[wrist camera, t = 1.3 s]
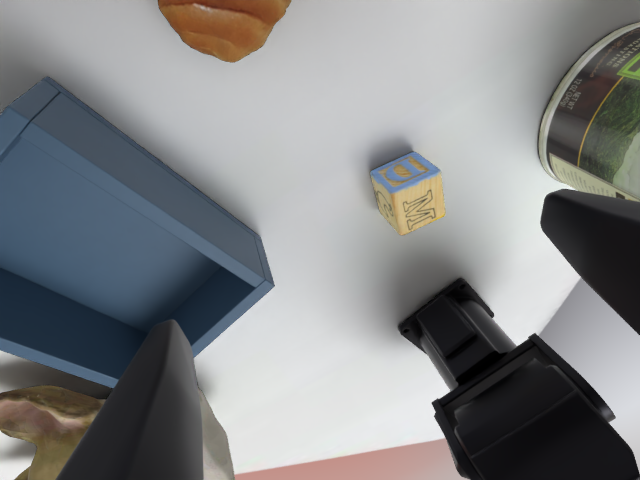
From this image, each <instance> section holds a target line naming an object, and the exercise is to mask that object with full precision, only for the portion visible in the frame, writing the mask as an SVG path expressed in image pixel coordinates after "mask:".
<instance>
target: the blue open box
mask: <svg viewBox="0 0 640 480" xmlns="http://www.w3.org/2000/svg"><path fill="white" fill-rule="evenodd" d="M274 286H275V285H274V281H273V278H272V274H271V271H270V268H269V264H268V261H267V257H266V254H265V250H264V247H263V244H262V240H261V237H260V236H258V235H257V234H256V233H254V232H253V231H252V230H251V229H249V228H248V227H247V226H245V225H244V224H243V223H241V222H240V221H239V220H237V219H236V218H235V217H233V216H232V215H231V214H229V213H228V212H227V211H225V210H224V209H223V208H221V207H220V206H219V205H217V204H216V203H215V202H213V201H212V200H211V199H209V198H208V197H207V196H206V195H204V194H203V193H202V192H200V191H199V190H198V189H196V188H195V187H194V186H192V185H191V184H190V183H188V182H187V181H186V180H184V179H183V178H182V177H180V176H179V175H178V174H176V173H175V172H174V171H172V170H171V169H170V168H168V167H167V166H166V165H165V164H163V163H162V162H161V161H159V160H158V159H157V158H155V157H154V156H153V155H151V154H150V153H149V152H147V151H146V150H145V149H143V148H142V147H141V146H139V145H138V144H137V143H135V142H134V141H133V140H131V139H130V138H129V137H127V136H126V135H125V134H124V133H122V132H121V131H120V130H118V129H117V128H116V127H114V126H113V125H112V124H110V123H109V122H108V121H106V120H105V119H104V118H102V117H101V116H100V115H98V114H97V113H96V112H94V111H93V110H92V109H90V108H89V107H88V106H86V105H85V104H84V103H82V102H81V101H80V100H79V99H77V98H76V97H75V96H73V95H72V94H71V93H69V92H68V91H67V90H65V89H64V88H63V87H61V86H60V85H59V84H57V83H56V82H55V81H53V80H52V79H51V78H49V77H48V76H47V77H45V78H44V79H43V80H41V81H40V82H39V83H37V84H36V85H35V86H33V87H32V88H31V89H29V90H28V91H27V92H26V93H24V94H23V95H22V96H20V97H19V98H18V99H16V100H15V101H14V102H12V103H11V104H10V105H8V106H7V107H6V108H5V110H4V111H3V112H2V113H1V114H0V350H1V351H4V352H7V353H10V354H13V355H16V356H19V357H22V358H25V359H28V360H31V361H34V362H37V363H40V364H43V365H46V366H49V367H52V368H54V369H57V370H60V371H63V372H66V373H69V374H72V375H75V376H78V377H81V378H84V379H87V380H90V381H93V382H96V383H99V384H102V385H105V386H108V387H111V388H114V387H115V385H116V384H117V382H118V381H119V379H120V377H121V376H122V374H123V373H124V371H125V370H126V368H127V367H128V365H129V363H130V362H131V360H132V359H133V357H134V356H135V354H136V353H137V351H138V349H139V348H140V346H141V345H142V343H143V342H144V340H145V338H146V337H147V335H148V334H149V332H150V331H151V329H152V328H153V326H154V325H156V324H158V323H161V322H164V321H167V320H170V319H173V320H175V321H176V322H177V323H178V324H179V326H180V328H181V329H182V331H183V333H184V335H185V336H186V338H187V340H188V341H189V343H190V345H191V348H192V353H193V358H194V357H195V356H196V355H198V354H199V353H200V352H201V351H202V350H203V349H204V348H205V347H207V346H208V345H209V344H210V343H211V342H212V341H213V340H214V339H216V338H217V337H218V336H219V335H220V334H221V333H222V332H224V331H225V330H226V329H227V328H228V327H229V326H230V325H231V324H233V323H234V322H235V321H236V320H237V319H238V318H239V317H240V316H242V315H243V314H244V313H245V312H246V311H247V310H248V309H250V308H251V307H252V306H253V305H254V304H255V303H256V302H257V301H259V300H260V299H261V298H262V297H263V296H264V295H265V294H266V293H268V292H269V291H270V290H271V289H272V288H273V287H274Z"/></svg>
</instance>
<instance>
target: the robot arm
mask: <svg viewBox="0 0 640 480" xmlns="http://www.w3.org/2000/svg"><path fill="white" fill-rule="evenodd" d="M540 224H541V228H542V230H543V232H544V233H545V234H546V235H547V237H548V238H549V239H550V240H551V242H552V243H553V244H554V245H555V246H556V248H557V249H558V250H559V251H560V252H561V254H562V255H563V256H564V257H565V258H566V260H567V261H568V262H569V263H570V264H571V266H572V267H573V268H574V269H575V271H576V272H577V273H578V274H579V275H580V276H581V277H582V279H583V280H584V281H585V282H586V283H587V284H588V285H589V286H590V287H591V288H593V290H594V291H595V292H596V293H597V294H598V295H599V296H600V297H601V298H602V299H603V300H604V301H605V302H606V303H608V305H610V306H611V307H612V308H613V309H614V310H615V311H616V312H617V313H618V314H619V315H620V316H621V317H622V318H623V319H624V320H625V321H626V322H627V323H628V324H629V325H630V326H631V327H632V328H633V329H634V330H635V331H636V332H637V333H638V334H639V335H640V202H638V201H632V200H626V199H621V198H615V197H609V196H603V195H598V194H592V193H586V192H581V191H575V190H569V189H561V190H558V191H555V192H552V193H549V194H548V195H547V196H546V197H545V199H544V204H543V210H542V215H541V221H540ZM493 317H494V313H493V312H492V311H491V310H490V308H489V307H488V306H487V305H486V304H485V303H484V302H483V300H482V299H481V298H480V297H479V296H478V295H477V293H476V292H475V291H474V290H473V289H472V288H471V286H470V285H469V284H468V283H467V282H466V281H465V280H464V279H458V280H457V281H455V282H454V283H453V284H452V285H450V286H449V287H448V288H447V289H445V290H444V291H443V292H441V293H440V294H439V295H438V296H436V297H435V298H434V299H433V300H431V301H430V302H429V303H428V304H426V305H425V306H424V307H422V308H421V309H420V310H419V311H417V312H416V313H415V314H414V315H412V316H411V317H410V318H409V319H407V320H406V321H405V322H404V323H402V324H401V325H400V326H399V328H398V330H399V331H400V333H401V334H402V335H403V336H404V337H405V338H407V339H408V340H409V341H410V342H412V343H413V344H414V345H416V346H417V347H418V348H419V349H421V350H422V351H423V352H425V353H426V354H427V355H428V356H429V358H430V359H431V361H432V363H433V364H434V366H435V367H436V369H437V370H438V372H439V374H440V375H441V377H442V378H443V380H444V381H445V383H446V384H447V386H448V388H449V389H450V392H449V393H448V394H446V395H445V396H443V397H442V398H440V399H436V400H435V401H433V402H432V405H433V407H434V409H435V411H436V413H435V415H434V417H435V419H436V421H437V422H438V424H439V426H440V428H441V430H442V431H443V433H444V435H445V437H446V439H447V443H448V445H449V448H450V451H451V454H452V457H453V460H454V463H455V466H456V469H457V471H458V472H459V474H460V475H461V476H462V477H464V478H467V479H470V480H640V474H639V470H638V467H637V464H636V460H635V457H634V454H633V452H632V450H631V448H630V447H629V445H628V444H627V443H626V442H625V441H624V440H623V439H622V438H621V436H619V434H618V433H617V432H616V431H615V430H614V429H613V427H612V426H611V425H610V424H609V422H610V421H612V420H613V419H615V415H614V413H613V412H612V411H611V409H610V408H609V406H608V405H607V404H606V403H605V401H604V400H603V399H602V398H601V397H600V395H599V394H598V393H597V392H596V391H595V390H594V389H593V388H592V387H591V385H590V384H589V383H588V382H587V381H586V380H585V379H584V378H583V377H582V376H581V375H580V374H579V373H578V372H577V371H576V370H575V369H574V368H572V367H571V366H570V365H569V364H568V363H567V362H566V361H565V360H564V359H563V358H561V357H560V356H559V355H558V354H557V353H556V352H555V351H554V350H553V349H552V348H551V347H550V346H548V345H547V344H546V343H545V342H544V341H543V340H542V339H541V338H540V337H539V336H538V335H536V334H535V333H534V334H532V335H531V336H529V337H528V338H529V339H528V340H526V341H525V342H523V343H522V344H520V345H519V346H516V345H515V344H514V343H513V342H512V340H511V339H510V338H509V337H508V336H507V335H506V334H505V333H504V331H503V330H502V329H501V328H500V327H499V326H498V325H497V324H496V323H495V321H494V320H493V319H492V318H493ZM55 480H204V472H203V432H202V414H201V407H200V400H199V393H198V386H197V379H196V373H195V366H194V359H193V353H192V348H191V345H190V343H189V341H188V340H187V338H186V336H185V335H184V333H183V331H182V329H181V328H180V326H179V324H178V323H177V322H176V321H175V320H173V319H170V320H167V321H164V322H161V323H158V324H156V325H154V326H153V328H152V329H151V331H150V332H149V334H148V335H147V337H146V338H145V340H144V342H143V343H142V345H141V346H140V348H139V349H138V351H137V353H136V354H135V356H134V357H133V359H132V360H131V362H130V363H129V365H128V367H127V368H126V370H125V371H124V373H123V374H122V376H121V377H120V379H119V381H118V382H117V384H116V385H115V387H114V388H113V390H112V392H111V393H110V395H109V396H108V398H107V399H106V401H105V402H104V404H103V406H102V407H101V409H100V410H99V412H98V413H97V415H96V417H95V418H94V420H93V421H92V423H91V424H90V426H89V427H88V429H87V431H86V432H85V434H84V435H83V437H82V438H81V440H80V442H79V443H78V445H77V446H76V448H75V449H74V451H73V452H72V454H71V456H70V457H69V459H68V460H67V462H66V463H65V465H64V466H63V468H62V470H61V471H60V473H59V474H58V476H57V477H56V479H55Z"/></svg>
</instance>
